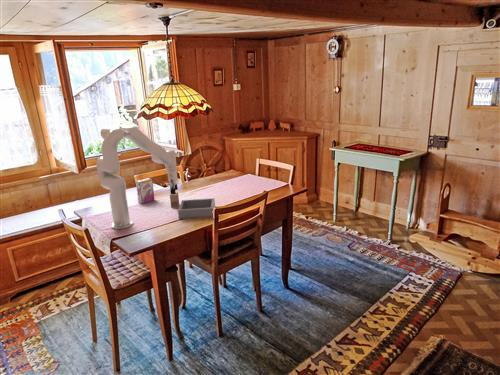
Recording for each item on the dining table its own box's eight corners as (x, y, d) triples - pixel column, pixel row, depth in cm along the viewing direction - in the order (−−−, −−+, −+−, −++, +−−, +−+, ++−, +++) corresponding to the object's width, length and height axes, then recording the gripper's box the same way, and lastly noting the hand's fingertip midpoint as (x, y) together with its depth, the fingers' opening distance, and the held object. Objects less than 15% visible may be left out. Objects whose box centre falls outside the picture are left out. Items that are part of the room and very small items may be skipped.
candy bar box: (142, 204, 259) (139, 182, 255) (138, 202, 262) (135, 181, 258) (155, 199, 267) (152, 178, 263) (151, 198, 271) (148, 177, 266)
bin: (213, 217, 228) (213, 208, 226) (178, 219, 227) (177, 210, 225) (215, 206, 247) (214, 198, 245) (182, 208, 246) (182, 200, 244)
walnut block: (178, 207, 249) (177, 194, 247) (171, 207, 249) (169, 195, 246) (179, 204, 254) (178, 192, 251) (172, 205, 254) (170, 193, 251)
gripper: (174, 170, 236) (178, 195, 241) (178, 164, 252) (181, 187, 257) (163, 171, 235) (166, 196, 241) (167, 165, 252) (170, 188, 257)
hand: (174, 191), depth 249 cm, fingers open, 9 cm apart
